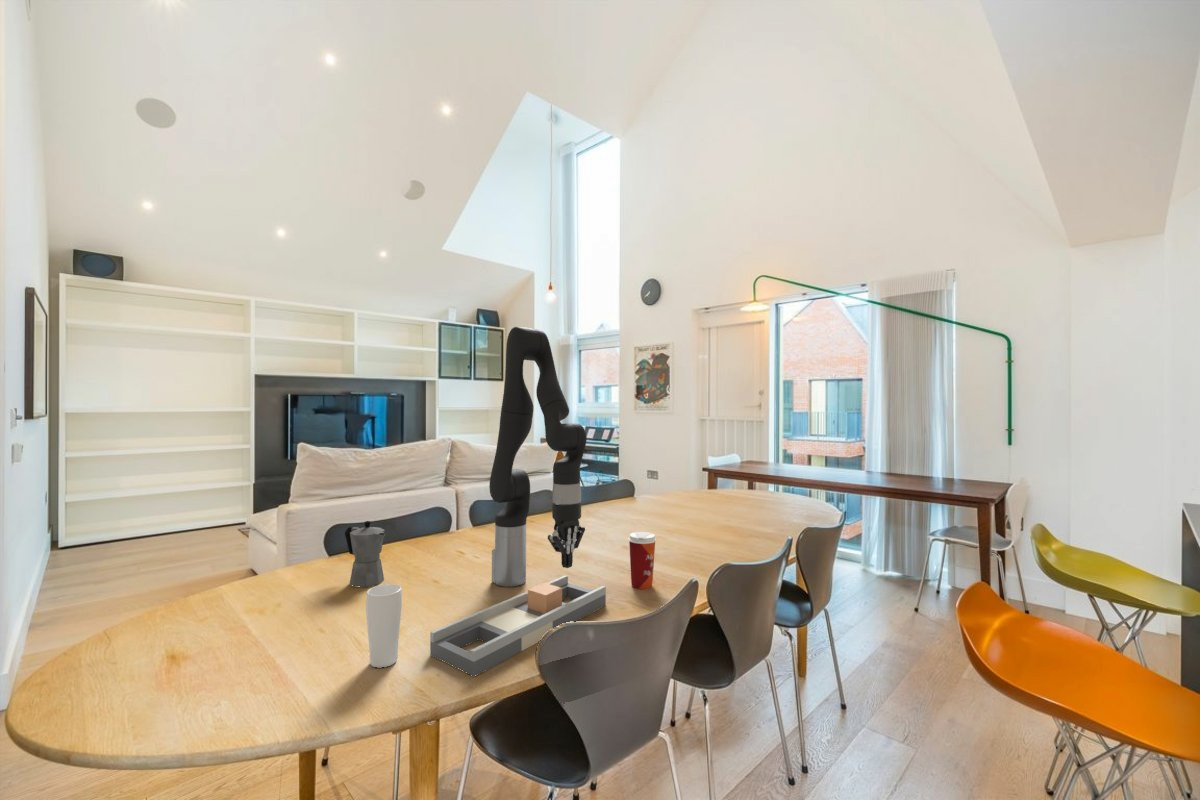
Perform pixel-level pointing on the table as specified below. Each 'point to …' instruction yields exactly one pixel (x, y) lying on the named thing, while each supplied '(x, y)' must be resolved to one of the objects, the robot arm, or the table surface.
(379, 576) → the coffeepot
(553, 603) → the block
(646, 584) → the coffee cup
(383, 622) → the drinking glass
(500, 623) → the track
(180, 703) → the table surface
